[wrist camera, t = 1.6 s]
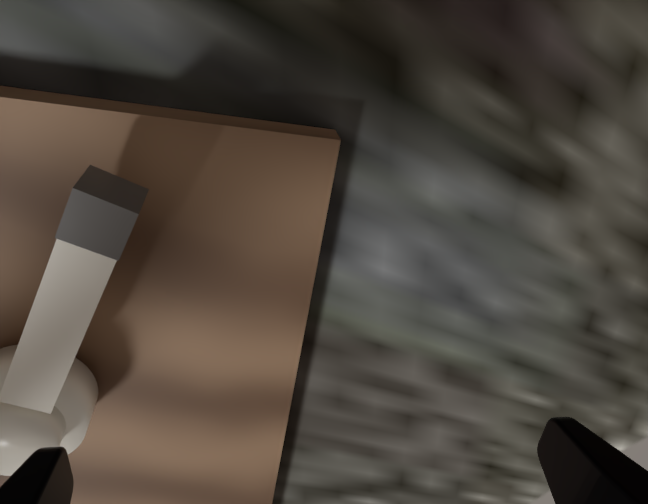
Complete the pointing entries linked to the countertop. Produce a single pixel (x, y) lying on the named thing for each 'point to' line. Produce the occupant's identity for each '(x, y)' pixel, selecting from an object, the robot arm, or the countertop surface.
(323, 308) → the countertop surface
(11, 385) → the peg
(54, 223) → the brown board
